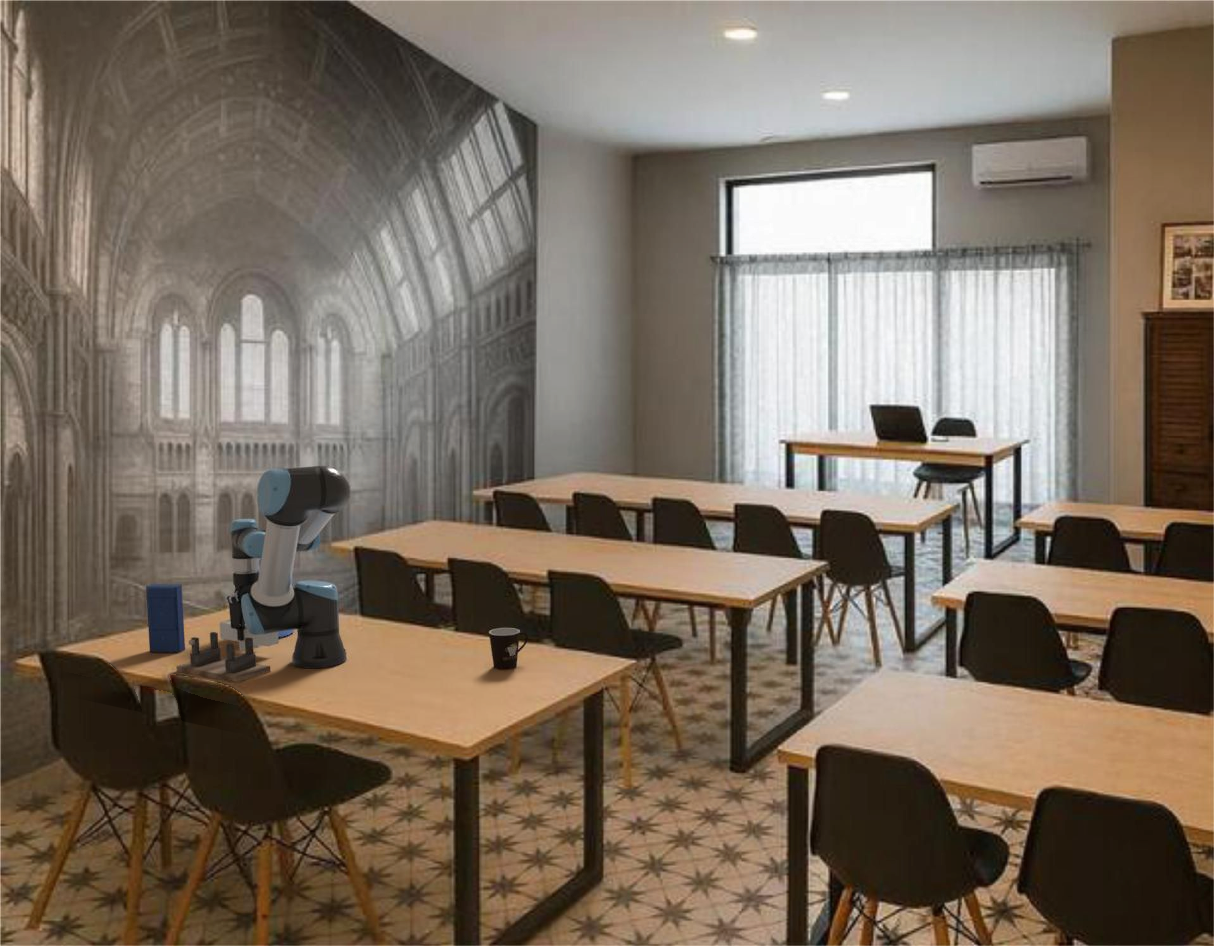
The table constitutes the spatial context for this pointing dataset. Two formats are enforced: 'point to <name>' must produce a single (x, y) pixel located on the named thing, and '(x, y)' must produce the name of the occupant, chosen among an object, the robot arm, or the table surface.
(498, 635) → the coffee mug
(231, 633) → the white slab
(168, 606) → the electronic device
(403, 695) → the table surface
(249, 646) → the cable cradle
